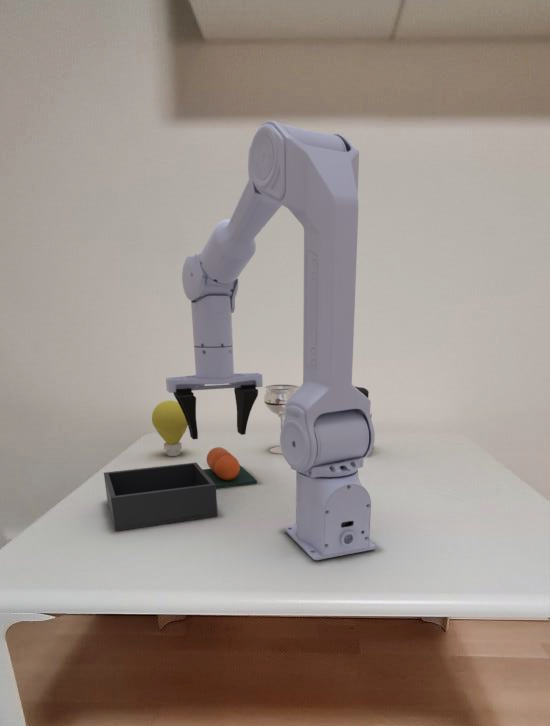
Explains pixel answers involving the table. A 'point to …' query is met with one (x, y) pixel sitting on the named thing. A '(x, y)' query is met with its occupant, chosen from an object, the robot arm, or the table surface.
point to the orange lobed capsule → (223, 463)
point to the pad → (240, 479)
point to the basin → (159, 495)
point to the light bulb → (170, 425)
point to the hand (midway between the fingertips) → (218, 435)
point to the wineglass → (278, 402)
